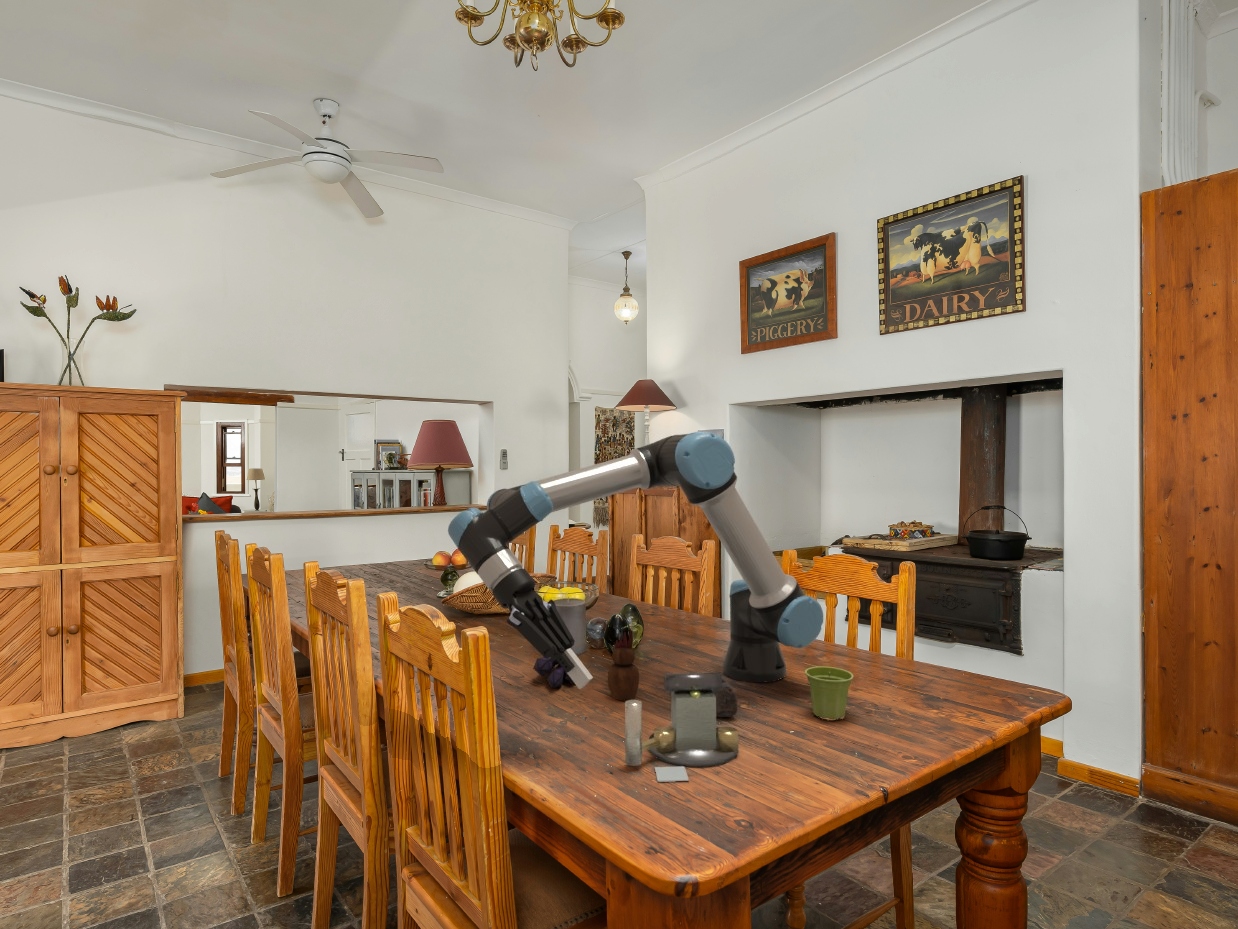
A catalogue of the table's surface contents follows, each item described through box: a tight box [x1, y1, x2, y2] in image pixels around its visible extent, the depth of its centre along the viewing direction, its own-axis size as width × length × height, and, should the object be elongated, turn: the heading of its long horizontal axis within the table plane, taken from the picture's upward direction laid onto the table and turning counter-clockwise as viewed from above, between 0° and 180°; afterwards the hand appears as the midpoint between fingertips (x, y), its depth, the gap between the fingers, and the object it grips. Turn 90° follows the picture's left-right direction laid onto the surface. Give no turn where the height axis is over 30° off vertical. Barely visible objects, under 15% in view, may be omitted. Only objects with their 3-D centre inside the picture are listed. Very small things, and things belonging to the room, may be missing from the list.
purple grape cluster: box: [532, 656, 575, 689], centre depth 162 cm, size 7×12×20 cm
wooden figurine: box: [607, 629, 640, 701], centre depth 148 cm, size 7×6×15 cm
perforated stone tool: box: [713, 677, 739, 718], centre depth 141 cm, size 15×5×7 cm, turn 7°
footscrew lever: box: [624, 699, 675, 767], centre depth 116 cm, size 10×4×10 cm, turn 129°
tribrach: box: [648, 671, 739, 768], centre depth 122 cm, size 16×16×13 cm
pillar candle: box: [553, 596, 588, 656], centre depth 187 cm, size 10×10×15 cm
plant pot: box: [804, 666, 854, 720], centre depth 137 cm, size 9×9×9 cm
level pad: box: [654, 766, 690, 783], centre depth 111 cm, size 5×5×1 cm
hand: (586, 683), depth 118 cm, fingers closed
